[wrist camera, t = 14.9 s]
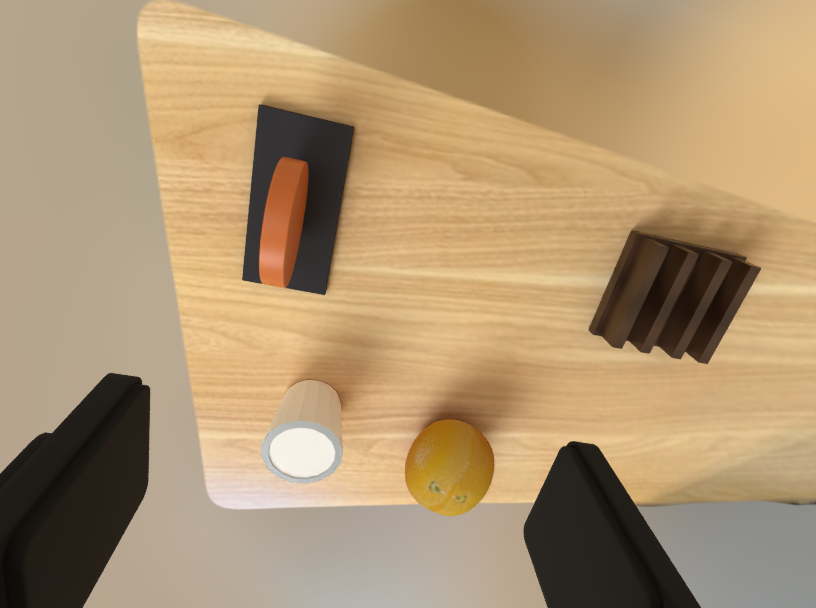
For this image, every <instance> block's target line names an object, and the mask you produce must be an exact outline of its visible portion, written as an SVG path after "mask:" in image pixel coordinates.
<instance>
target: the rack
mask: <svg viewBox="0 0 816 608" xmlns="http://www.w3.org/2000/svg"><path fill="white" fill-rule="evenodd" d="M746 259H747V258H746V257H744V256H742V255H739V254H735V253H730V252H726V251H721V250H717V249H713V248H708V247H704V246H699V245H695V244H690V243H686V242H681V241H677V240H672V239H668V238H664V237H659V236H655V235H650V234H646V233H641V232H637V231H631V233H630V235H629V237H628V240H627V242H626V244H625V246H624V249H623V251H622V253H621V256H620V258H619V260H618V263H617V265H616V267H615V270H614V272H613V274H612V277H611V279H610V281H609V284H608V286H607V288H606V291H605V293H604V295H603V298H602V300H601V302H600V305H599V307H598V309H597V312H596V314H595V316H594V318H593V321H592V323H591V325H590V328H589V331H590V332H591V333H592V334H593V335H598V336H602V337H603V338H604V339H605V340H606V341H607V342H608V343H609V344H610V345H611V346H612V347H615V348H620V349H622V348H623V345H624V343H625V341H629V342H630V343H631V344H633V345H634V346H635V347H636V348H637V349H638V350H639V351H640V352H643V353H650V352H651V350H652V348H653V346H658V347H660V348H661V349H662V350H664V351H665V352H666V353H667V354H668V355H669V356H670V357H672V358H677V359H681V358H682V356H683V354H684V352H686V353H688V354H689V355H690V356H691V357H693V358H694V359H695V360H696V361H697V362H699V363H705V364H708V362H709V361H710V359H711V357H712V355H713V353H714V352H715V350H716V348H717V346H718V345H719V343H720V341H721V339H722V337H723V336H724V334H725V332H726V330H727V329H728V327H729V325H730V323H731V321H732V320H733V318H734V316H735V314H736V313H737V311H738V309H739V307H740V306H741V304H742V302H743V300H744V298H745V297H746V295H747V293H748V291H749V290H750V288H751V286H752V284H753V282H754V281H755V279H756V277H757V275H758V274H759V272H760V270H761V268H760V267H758V266H755V265H753V264H751V263H749V262H746Z"/></svg>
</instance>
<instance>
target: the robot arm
mask: <svg viewBox="0 0 816 608" xmlns="http://www.w3.org/2000/svg"><path fill="white" fill-rule="evenodd" d="M149 422H150V387H149V386H147V385H142V380H141V378H139V377H135V376H128V375H121V374H115V373H109V374H107V375H106V376H105V377H104V378H103V379H102V380H101V381H100V382H99V383H98V384H97V385H96V386H95V387H94V389H93V390H92V391H91V392H90V393H89V394H88V395H87V396H86V397H85V398H84V399H83V400H82V402H81V403H80V404H79V405H78V406H77V407H76V408H75V409H74V410H73V411H72V412H71V413H70V414H69V416H68V417H67V418H66V419H65V420H64V421H63V422H62V423H61V424H60V425H59V427H57V429H56V430H55V431H54V432H53V433H43V434H41V435H39V436H37V437H36V438H35V439H34V440H32V442H30V444H28V446H27V447H26V448H25V449H24V450H23V451H22V452H21V453H20V454H19V455H18V456H17V457H16V458H15V459H14V460H13V461H12V462H11V463H10V464H9V465H8V466H7V467H6V469H4V471H2V473H1V474H0V608H83V606H84V604H85V602H86V601H87V599H88V597H89V595H90V593H91V592H92V590H93V588H94V586H95V584H96V583H97V581H98V579H99V577H100V575H101V574H102V572H103V570H104V568H105V566H106V565H107V563H108V561H109V559H110V557H111V556H112V554H113V552H114V550H115V548H116V546H117V545H118V543H119V541H120V539H121V538H122V535H123V534H124V532H125V530H126V528H127V527H128V525H129V523H130V521H131V520H132V518H133V516H134V514H135V512H136V511H137V509H138V507H139V505H140V503H141V502H142V500H143V498H144V495H145V493H146V489H147V486H148V473H149V471H148V470H149V425H150V423H149ZM524 540H525V543H526V546H527V549H528V552H529V555H530V557H531V560H532V563H533V565H534V569H535V572H536V575H537V578H538V581H539V584H540V586H541V590H542V592H543V595H544V598H545V601H546V604H547V607H548V608H701V607H700V605H699V604H698V602H697V601H696V599H695V597H694V596H693V594H692V593H691V591H690V590H689V588H688V587H687V585H686V583H685V582H684V580H683V579H682V577H681V576H680V574H679V573H678V571H677V569H676V568H675V566H674V565H673V563H672V562H671V560H670V558H669V557H668V555H667V554H666V552H665V551H664V549H663V548H662V546H661V544H660V543H659V541H658V540H657V538H656V537H655V535H654V533H653V532H652V530H651V529H650V527H649V526H648V524H647V523H646V521H645V519H644V518H643V516H642V515H641V513H640V512H639V510H638V508H637V507H636V505H635V504H634V502H633V501H632V499H631V498H630V496H629V494H628V493H627V491H626V490H625V488H624V487H623V485H622V483H621V482H620V480H619V479H618V477H617V476H616V474H615V473H614V471H613V469H612V468H611V466H610V465H609V463H608V462H607V460H606V458H605V457H604V455H603V454H602V452H601V451H600V449H599V448H598V447H597V446H596V445H594V444H588V443H581V442H575V441H572V442H569V443H568V444H567V446H563V447H562V448H561V449H560V450H559V452H558V455H557V457H556V459H555V461H554V463H553V465H552V467H551V469H550V471H549V474H548V476H547V478H546V480H545V482H544V484H543V486H542V488H541V491H540V493H539V495H538V497H537V499H536V501H535V503H534V505H533V508H532V510H531V512H530V514H529V516H528V518H527V520H526V522H525V525H524Z"/></svg>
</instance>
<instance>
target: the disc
mask: <svg viewBox="0 0 816 608" xmlns="http://www.w3.org/2000/svg"><path fill="white" fill-rule="evenodd" d="M307 190H308V164H307V162H306V161H302V160H297V159H293V158H288V157H282V158H281V159H280V161H279V162H278V164H277V166H276V169H275V172H274V175H273V178H272V181H271V185H270V189H269V193H268V197H267V202H266V207H265V213H264V218H263V225H262V232H261V241H260V253H259V274H260V279H261V282H262V283H263V284H265V285H271V286H276V287H282V288H286V287H287V286H288V284H289V282H290V279H291V276H292V273H293V269H294V265H295V261H296V257H297V253H298V248H299V243H300V238H301V233H302V227H303V221H304V214H305V207H306V199H307Z"/></svg>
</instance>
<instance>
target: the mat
mask: <svg viewBox="0 0 816 608" xmlns="http://www.w3.org/2000/svg"><path fill="white" fill-rule="evenodd" d="M353 130H354V127H353V126H349V125H344V124H340V123H336V122H332V121H328V120H323V119H319V118H315V117H311V116H307V115H303V114H298V113H294V112H290V111H286V110H282V109H277V108H273V107H269V106H265V105H259V108H258V118H257V129H256V140H255V150H254V161H253V171H252V182H251V193H250V203H249V214H248V224H247V235H246V246H245V256H244V267H243V277H242V280H244V281H250V282H255V283H261V284H263V283H262V282H261V279H260V274H259V253H260V241H261V232H262V225H263V218H264V213H265V207H266V202H267V197H268V193H269V189H270V185H271V181H272V178H273V175H274V172H275V169H276V166H277V164H278V162H279V161H280V159H281V158H282V157H288V158H293V159H297V160H302V161H306V162H307V164H308V190H307V199H306V207H305V214H304V221H303V227H302V233H301V238H300V243H299V248H298V253H297V257H296V261H295V265H294V269H293V273H292V276H291V279H290V282H289V284H288V286H287V287H286V288H289V289H294V290H300V291H306V292H311V293H317V294H322V295H325V293H326V287H327V281H328V275H329V270H330V264H331V258H332V252H333V246H334V241H335V235H336V229H337V223H338V217H339V212H340V206H341V200H342V194H343V188H344V183H345V177H346V171H347V165H348V159H349V154H350V148H351V142H352V136H353Z"/></svg>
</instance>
